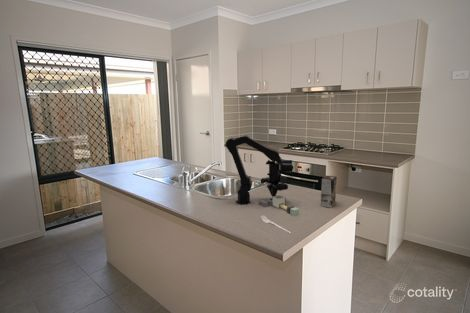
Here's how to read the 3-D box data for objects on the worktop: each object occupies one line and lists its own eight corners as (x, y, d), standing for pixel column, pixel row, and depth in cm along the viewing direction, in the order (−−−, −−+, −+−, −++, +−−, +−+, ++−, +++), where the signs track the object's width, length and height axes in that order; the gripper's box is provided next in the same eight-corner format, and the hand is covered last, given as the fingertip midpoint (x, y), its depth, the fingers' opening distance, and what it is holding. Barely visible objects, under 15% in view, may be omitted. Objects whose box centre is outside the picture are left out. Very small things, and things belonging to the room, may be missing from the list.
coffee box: (331, 208, 158) (333, 180, 155) (320, 205, 161) (321, 178, 158) (335, 203, 165) (337, 176, 162) (324, 201, 169) (325, 174, 166)
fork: (288, 235, 128) (288, 231, 128) (259, 219, 144) (259, 216, 144) (293, 233, 130) (293, 229, 129) (264, 218, 146) (264, 214, 145)
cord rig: (259, 204, 165) (259, 199, 164) (280, 199, 172) (280, 194, 172) (284, 218, 145) (284, 212, 144) (307, 212, 152) (308, 206, 152)
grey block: (272, 205, 162) (272, 196, 161) (279, 203, 165) (279, 194, 164) (277, 208, 158) (278, 198, 157) (284, 206, 160) (284, 197, 159)
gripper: (295, 173, 158) (295, 199, 161) (275, 166, 174) (274, 191, 177) (280, 176, 153) (279, 203, 155) (260, 169, 168) (260, 194, 171)
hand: (273, 197), depth 165 cm, fingers closed
